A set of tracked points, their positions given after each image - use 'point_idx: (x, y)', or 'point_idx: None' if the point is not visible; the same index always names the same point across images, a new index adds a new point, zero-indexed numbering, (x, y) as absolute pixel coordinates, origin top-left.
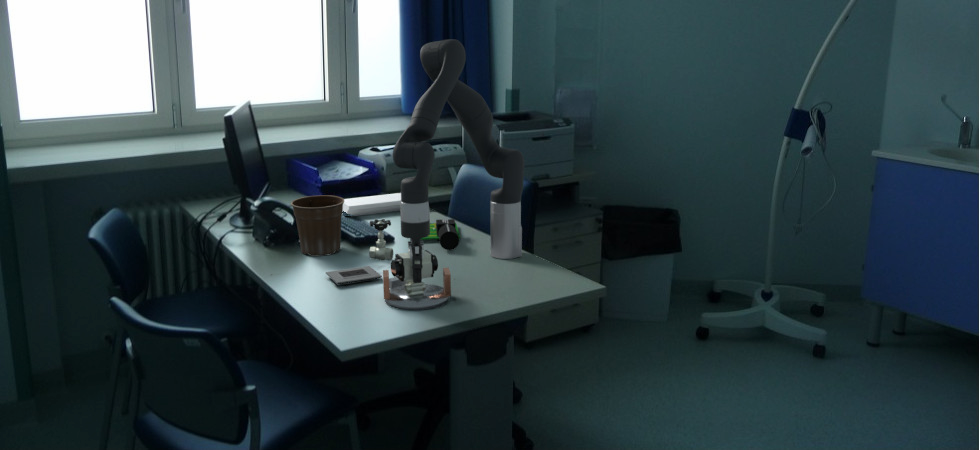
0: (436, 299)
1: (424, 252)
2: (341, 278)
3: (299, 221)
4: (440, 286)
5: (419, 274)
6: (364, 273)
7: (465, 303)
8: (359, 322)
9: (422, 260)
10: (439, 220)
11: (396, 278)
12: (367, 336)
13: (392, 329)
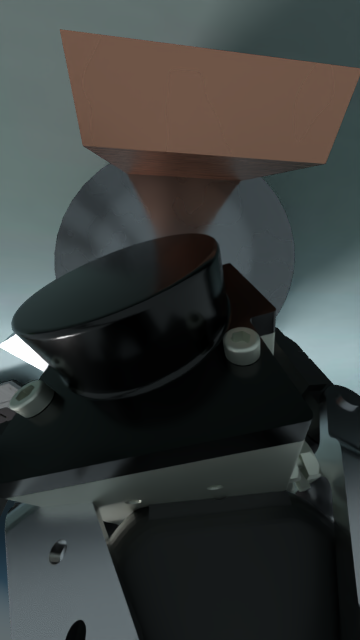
0: (261, 232)
1: (140, 489)
2: None
3: None
4: (84, 186)
5: (314, 367)
6: (10, 413)
7: (293, 39)
8: None
9: (342, 442)
10: None
11: (41, 358)
12: (351, 377)
13: (353, 346)
